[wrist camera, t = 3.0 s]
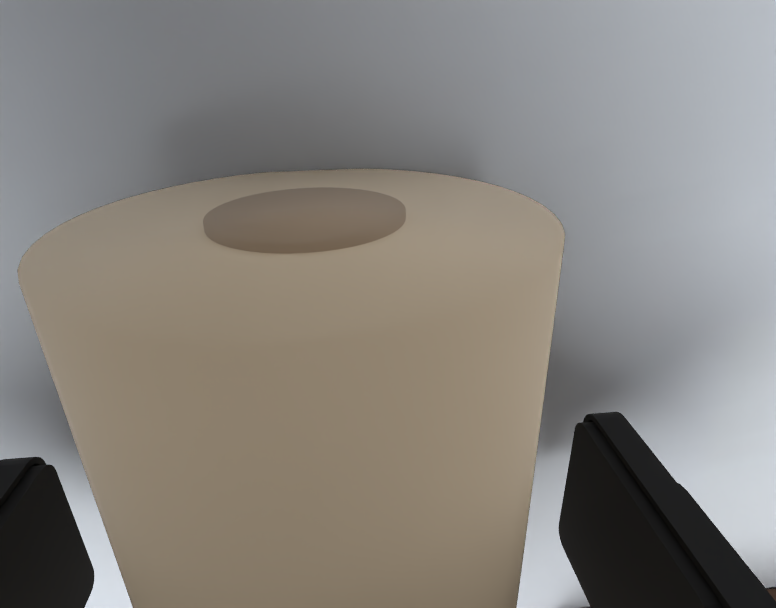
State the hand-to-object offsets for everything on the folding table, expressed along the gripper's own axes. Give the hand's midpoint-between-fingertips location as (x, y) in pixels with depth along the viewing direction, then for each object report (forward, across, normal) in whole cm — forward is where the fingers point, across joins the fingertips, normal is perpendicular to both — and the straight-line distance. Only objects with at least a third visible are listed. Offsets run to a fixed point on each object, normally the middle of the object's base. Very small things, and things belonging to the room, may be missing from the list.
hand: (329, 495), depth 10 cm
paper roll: (+2, 0, 0) cm, 2 cm away
